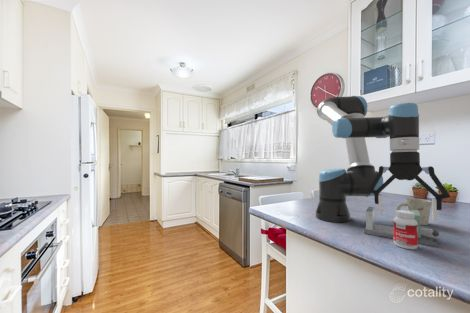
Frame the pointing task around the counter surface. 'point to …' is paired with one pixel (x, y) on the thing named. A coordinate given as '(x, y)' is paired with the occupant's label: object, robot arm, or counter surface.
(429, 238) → the vise base
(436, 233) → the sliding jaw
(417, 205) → the mug
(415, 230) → the pill bottle
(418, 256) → the counter surface
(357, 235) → the counter surface
